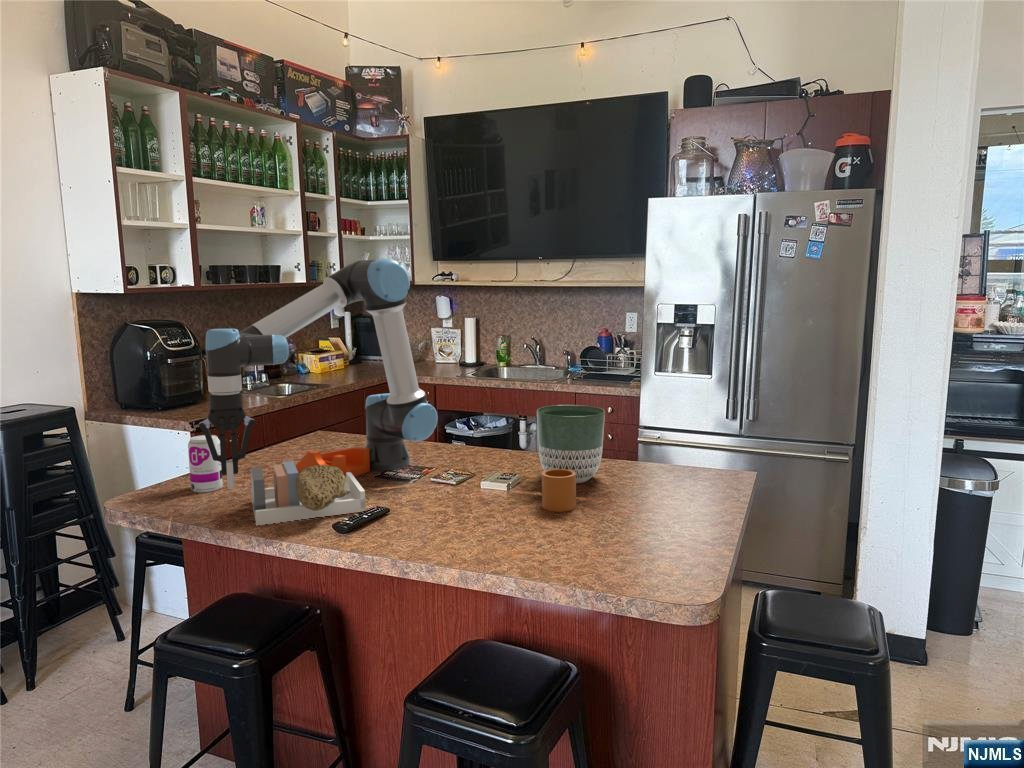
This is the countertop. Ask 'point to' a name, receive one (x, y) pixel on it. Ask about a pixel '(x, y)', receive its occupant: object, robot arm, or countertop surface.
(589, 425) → the planter
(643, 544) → the countertop surface
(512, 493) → the countertop surface
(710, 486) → the countertop surface
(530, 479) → the countertop surface
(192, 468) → the supplement can
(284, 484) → the book row
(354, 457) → the tape dispenser
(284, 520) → the white tray
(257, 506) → the dark gray book
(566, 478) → the mug
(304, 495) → the sponge
